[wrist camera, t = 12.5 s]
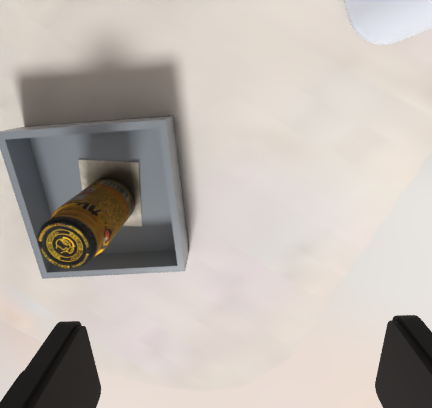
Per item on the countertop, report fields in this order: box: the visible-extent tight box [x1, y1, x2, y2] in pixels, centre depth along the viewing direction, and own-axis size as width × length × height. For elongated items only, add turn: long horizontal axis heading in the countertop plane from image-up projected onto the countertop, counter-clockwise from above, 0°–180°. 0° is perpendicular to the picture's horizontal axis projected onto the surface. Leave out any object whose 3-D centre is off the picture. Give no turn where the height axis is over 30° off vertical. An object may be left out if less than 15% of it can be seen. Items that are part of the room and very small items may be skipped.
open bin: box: [0, 116, 189, 278], centre depth 37 cm, size 18×18×5 cm
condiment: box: [38, 160, 142, 269], centre depth 33 cm, size 7×8×12 cm
